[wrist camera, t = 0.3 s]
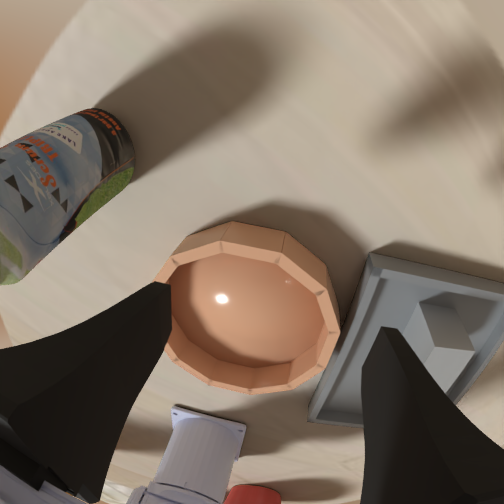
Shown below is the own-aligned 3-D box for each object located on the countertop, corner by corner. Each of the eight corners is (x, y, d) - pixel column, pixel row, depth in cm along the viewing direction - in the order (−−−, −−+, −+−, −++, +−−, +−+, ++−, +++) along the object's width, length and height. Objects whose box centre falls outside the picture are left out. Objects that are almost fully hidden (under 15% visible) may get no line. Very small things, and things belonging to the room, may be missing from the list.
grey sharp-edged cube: (432, 350, 21) (445, 393, 17) (396, 345, 21) (406, 391, 18) (455, 309, 19) (475, 351, 15) (418, 302, 19) (434, 346, 16)
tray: (429, 417, 26) (432, 431, 24) (308, 405, 27) (306, 421, 25) (517, 286, 18) (527, 300, 16) (369, 252, 19) (373, 266, 18)
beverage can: (154, 117, 18) (-9, 167, 7) (131, 222, 21) (12, 330, 11) (77, 98, 18) (-76, 135, 7) (64, 194, 21) (-58, 272, 11)
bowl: (310, 379, 25) (308, 405, 23) (166, 346, 26) (153, 369, 24) (358, 246, 19) (363, 269, 17) (164, 208, 20) (144, 225, 18)
